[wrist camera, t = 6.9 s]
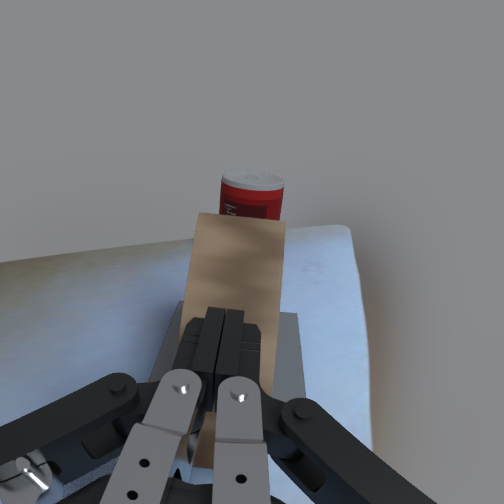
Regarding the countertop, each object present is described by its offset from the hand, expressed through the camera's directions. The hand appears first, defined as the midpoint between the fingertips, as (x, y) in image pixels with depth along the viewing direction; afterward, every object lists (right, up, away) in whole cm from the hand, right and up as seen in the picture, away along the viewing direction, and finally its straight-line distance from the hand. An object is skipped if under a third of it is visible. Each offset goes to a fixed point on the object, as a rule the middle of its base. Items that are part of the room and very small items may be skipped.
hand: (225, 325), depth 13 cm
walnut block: (-1, -9, +3) cm, 9 cm away
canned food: (0, +2, +30) cm, 30 cm away
